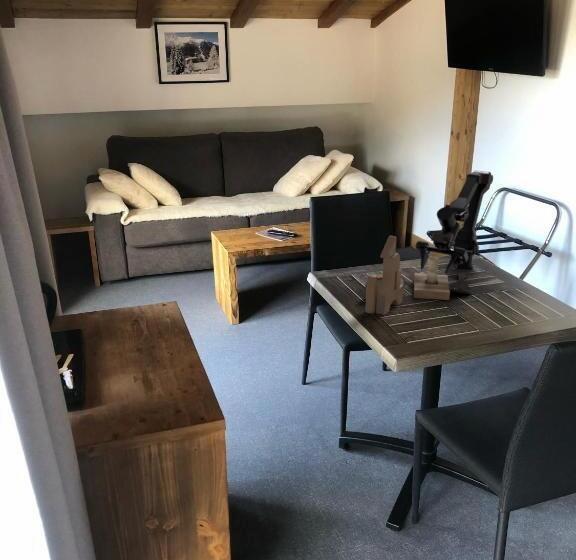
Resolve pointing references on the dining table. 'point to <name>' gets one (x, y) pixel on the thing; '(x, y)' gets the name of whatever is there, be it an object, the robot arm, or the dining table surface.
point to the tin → (379, 278)
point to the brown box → (431, 287)
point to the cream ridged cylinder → (432, 270)
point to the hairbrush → (460, 285)
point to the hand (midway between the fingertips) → (433, 271)
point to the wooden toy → (385, 282)
